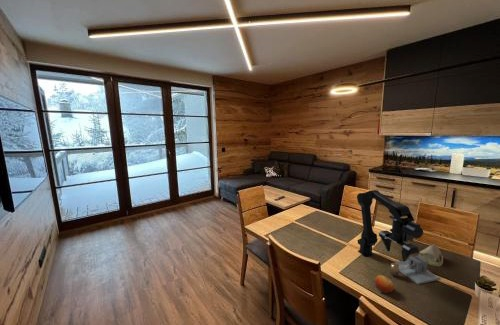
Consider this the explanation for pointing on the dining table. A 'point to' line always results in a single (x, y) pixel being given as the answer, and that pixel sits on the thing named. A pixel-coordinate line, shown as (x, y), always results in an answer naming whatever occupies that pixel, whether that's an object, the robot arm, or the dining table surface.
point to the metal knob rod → (399, 268)
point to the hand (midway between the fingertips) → (395, 256)
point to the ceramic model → (432, 255)
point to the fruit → (384, 284)
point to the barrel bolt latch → (418, 270)
